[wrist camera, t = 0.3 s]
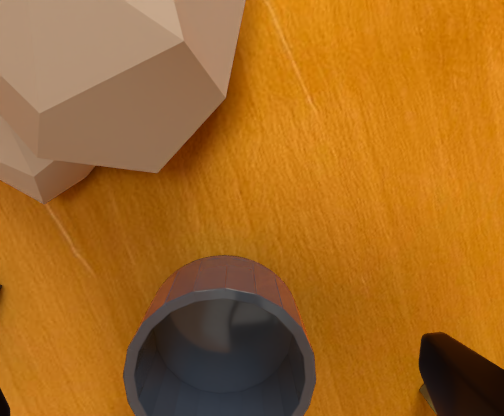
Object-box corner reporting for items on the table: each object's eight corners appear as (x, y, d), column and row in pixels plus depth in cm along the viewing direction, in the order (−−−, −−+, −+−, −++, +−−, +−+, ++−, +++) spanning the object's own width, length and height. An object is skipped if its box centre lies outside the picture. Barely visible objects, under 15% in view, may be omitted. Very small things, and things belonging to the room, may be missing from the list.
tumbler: (251, 417, 27) (254, 487, 22) (121, 354, 26) (90, 412, 20) (327, 300, 26) (351, 345, 20) (194, 227, 24) (181, 253, 19)
